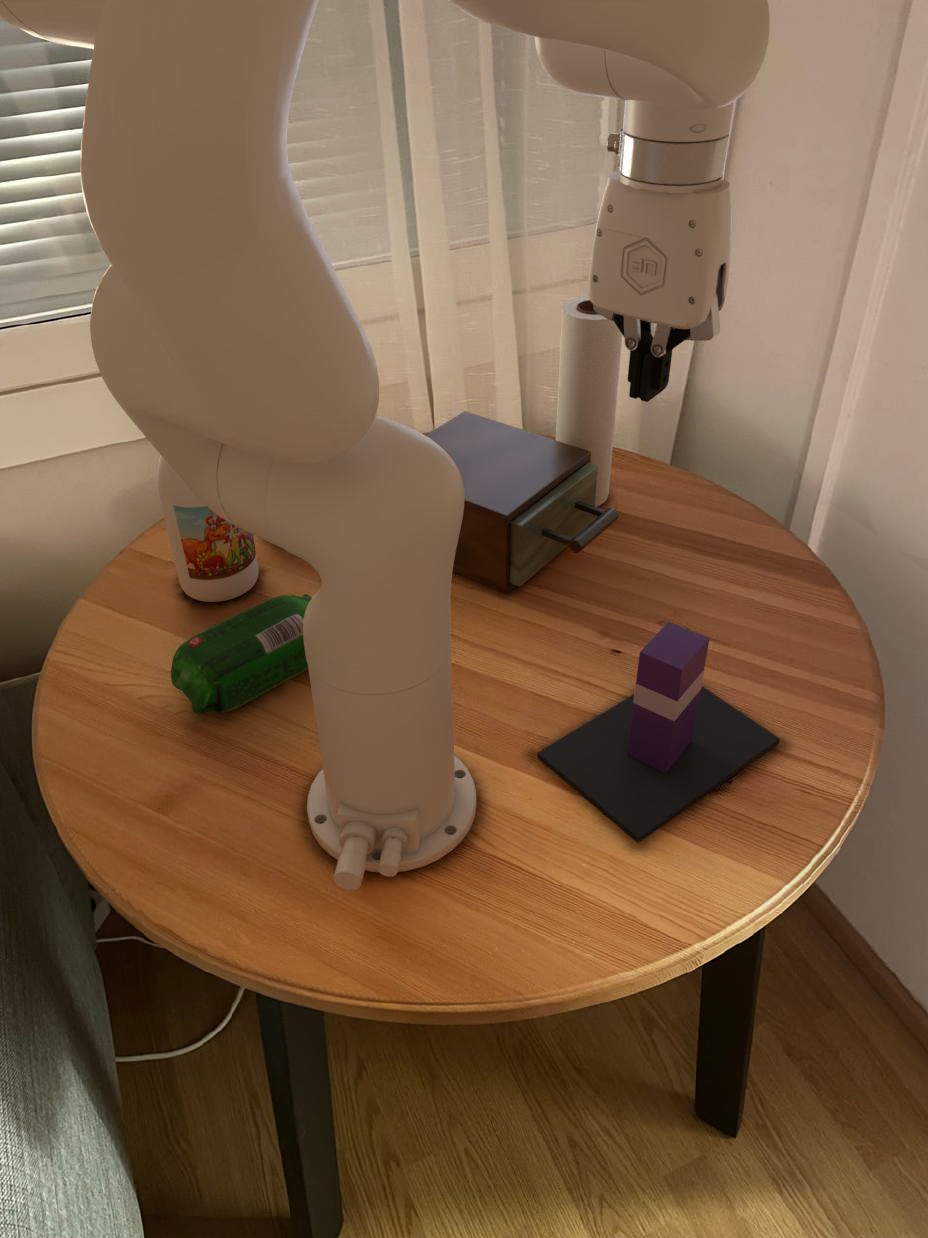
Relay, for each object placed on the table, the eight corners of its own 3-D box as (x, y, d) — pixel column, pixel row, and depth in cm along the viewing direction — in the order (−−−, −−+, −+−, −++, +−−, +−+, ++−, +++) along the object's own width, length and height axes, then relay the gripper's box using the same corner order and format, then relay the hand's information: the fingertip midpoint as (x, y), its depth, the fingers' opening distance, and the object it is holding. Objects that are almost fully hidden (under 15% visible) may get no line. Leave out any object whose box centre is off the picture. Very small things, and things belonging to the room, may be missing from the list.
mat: (638, 843, 72) (638, 838, 72) (536, 757, 79) (537, 752, 79) (779, 744, 80) (780, 738, 80) (675, 673, 87) (676, 668, 87)
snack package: (359, 654, 90) (355, 607, 87) (204, 736, 82) (193, 688, 78) (314, 618, 94) (308, 572, 91) (163, 693, 86) (150, 646, 83)
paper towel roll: (595, 515, 107) (610, 321, 94) (543, 502, 110) (551, 310, 96) (620, 485, 112) (638, 296, 99) (571, 472, 114) (582, 286, 101)
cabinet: (586, 525, 106) (591, 451, 100) (505, 594, 96) (506, 515, 91) (466, 481, 113) (464, 410, 108) (380, 541, 104) (374, 466, 99)
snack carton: (653, 722, 81) (667, 620, 75) (692, 740, 80) (710, 637, 73) (626, 755, 79) (638, 651, 72) (666, 774, 77) (682, 670, 70)
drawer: (631, 538, 102) (638, 478, 98) (559, 603, 93) (563, 541, 89) (480, 482, 111) (479, 426, 107) (401, 538, 103) (398, 479, 98)
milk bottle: (166, 598, 97) (119, 408, 84) (201, 554, 102) (162, 370, 90) (240, 609, 95) (204, 416, 83) (271, 564, 101) (242, 377, 89)
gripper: (557, 154, 74) (546, 387, 85) (747, 185, 67) (708, 435, 78) (609, 136, 79) (592, 358, 90) (791, 163, 72) (748, 401, 83)
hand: (646, 393), depth 84 cm, fingers closed
